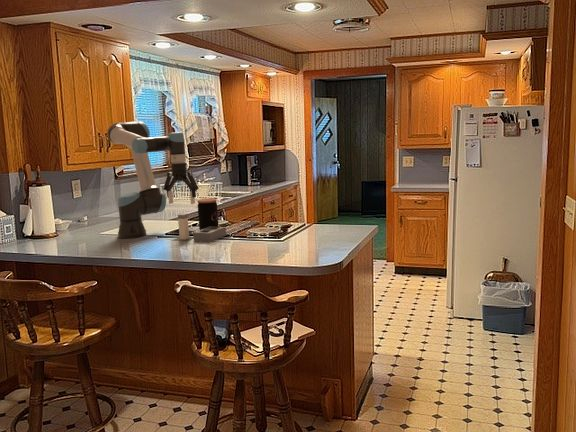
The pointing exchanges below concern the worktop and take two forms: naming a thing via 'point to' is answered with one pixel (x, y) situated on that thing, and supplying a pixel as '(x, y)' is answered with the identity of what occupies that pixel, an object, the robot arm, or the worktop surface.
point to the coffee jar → (207, 213)
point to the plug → (183, 226)
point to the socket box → (209, 234)
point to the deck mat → (183, 240)
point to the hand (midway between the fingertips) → (182, 203)
